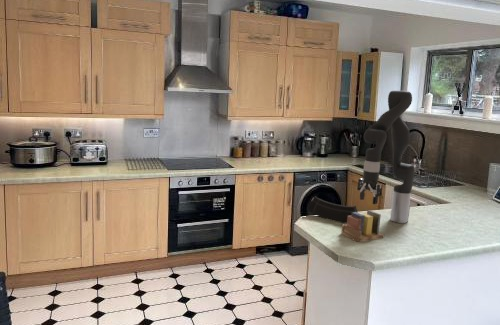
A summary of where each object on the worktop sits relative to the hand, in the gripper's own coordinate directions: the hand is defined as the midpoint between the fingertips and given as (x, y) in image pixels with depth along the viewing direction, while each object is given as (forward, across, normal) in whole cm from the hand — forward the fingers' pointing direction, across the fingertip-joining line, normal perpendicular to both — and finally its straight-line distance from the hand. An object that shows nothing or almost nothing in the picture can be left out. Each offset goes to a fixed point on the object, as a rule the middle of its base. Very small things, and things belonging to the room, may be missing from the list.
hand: (368, 201), depth 207 cm
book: (+16, 0, 0) cm, 16 cm away
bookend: (+16, 0, -5) cm, 17 cm away
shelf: (+18, 0, +2) cm, 18 cm away
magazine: (+18, +27, -1) cm, 32 cm away
